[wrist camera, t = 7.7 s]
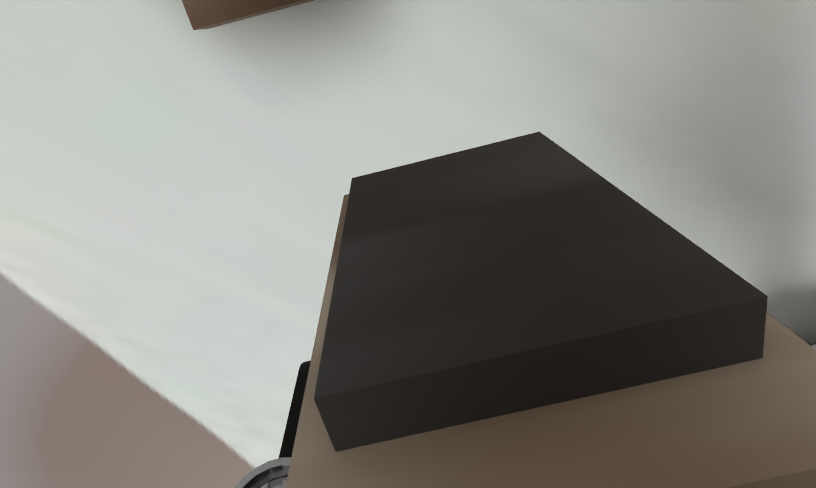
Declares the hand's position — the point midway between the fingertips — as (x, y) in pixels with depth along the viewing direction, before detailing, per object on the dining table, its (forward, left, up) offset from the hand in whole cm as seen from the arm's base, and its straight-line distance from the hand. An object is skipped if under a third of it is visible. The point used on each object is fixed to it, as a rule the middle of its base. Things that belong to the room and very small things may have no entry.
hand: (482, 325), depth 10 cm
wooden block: (0, 0, -1) cm, 1 cm away
